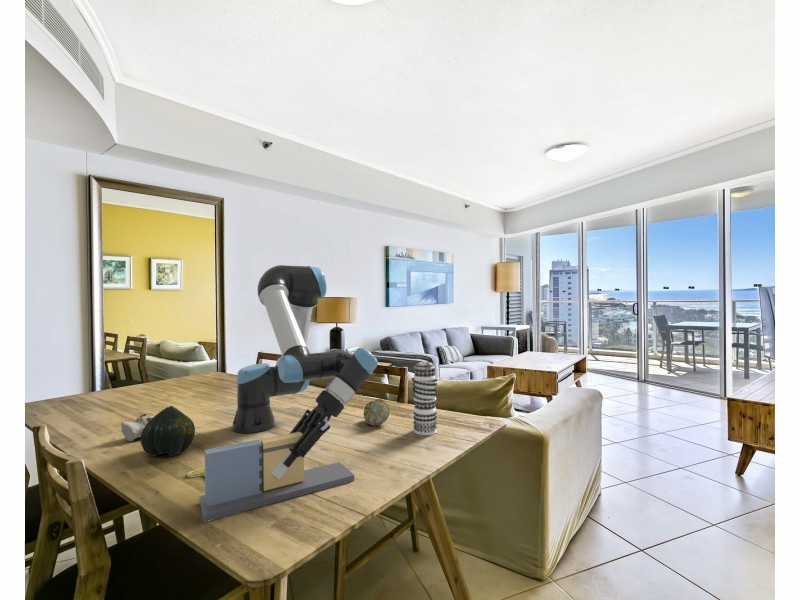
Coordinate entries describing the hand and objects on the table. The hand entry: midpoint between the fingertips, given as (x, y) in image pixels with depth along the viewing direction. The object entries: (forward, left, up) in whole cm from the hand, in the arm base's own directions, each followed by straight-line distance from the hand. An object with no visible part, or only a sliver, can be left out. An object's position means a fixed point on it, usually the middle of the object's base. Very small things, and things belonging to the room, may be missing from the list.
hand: (273, 473), depth 97 cm
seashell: (+10, +58, -5) cm, 59 cm away
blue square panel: (-6, -6, -3) cm, 10 cm away
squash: (-47, +17, -5) cm, 50 cm away
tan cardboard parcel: (+2, +2, -3) cm, 4 cm away
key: (-24, +5, -6) cm, 25 cm away
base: (+1, +1, -5) cm, 5 cm away
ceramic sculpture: (-67, +27, -5) cm, 73 cm away
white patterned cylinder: (+30, +53, -5) cm, 61 cm away
